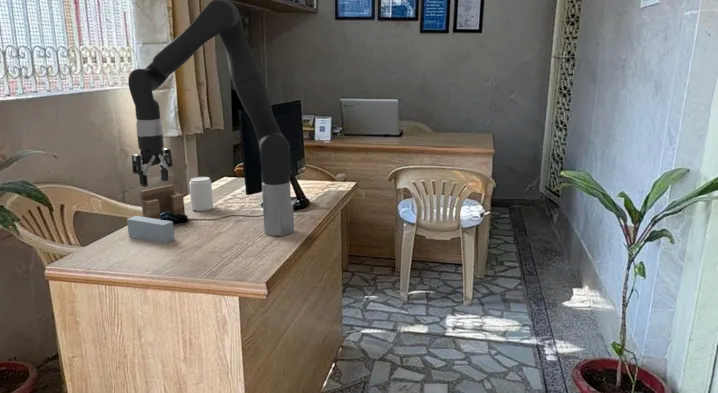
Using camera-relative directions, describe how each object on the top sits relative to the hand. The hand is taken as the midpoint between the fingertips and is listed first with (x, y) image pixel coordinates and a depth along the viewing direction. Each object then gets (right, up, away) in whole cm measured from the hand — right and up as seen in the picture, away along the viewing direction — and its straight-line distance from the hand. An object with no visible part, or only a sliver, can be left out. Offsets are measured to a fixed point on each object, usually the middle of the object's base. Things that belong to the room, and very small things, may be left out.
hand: (154, 183), depth 171 cm
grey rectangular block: (-2, -18, +2) cm, 18 cm away
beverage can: (+5, -9, +34) cm, 36 cm away
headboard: (-4, -13, +19) cm, 23 cm away
